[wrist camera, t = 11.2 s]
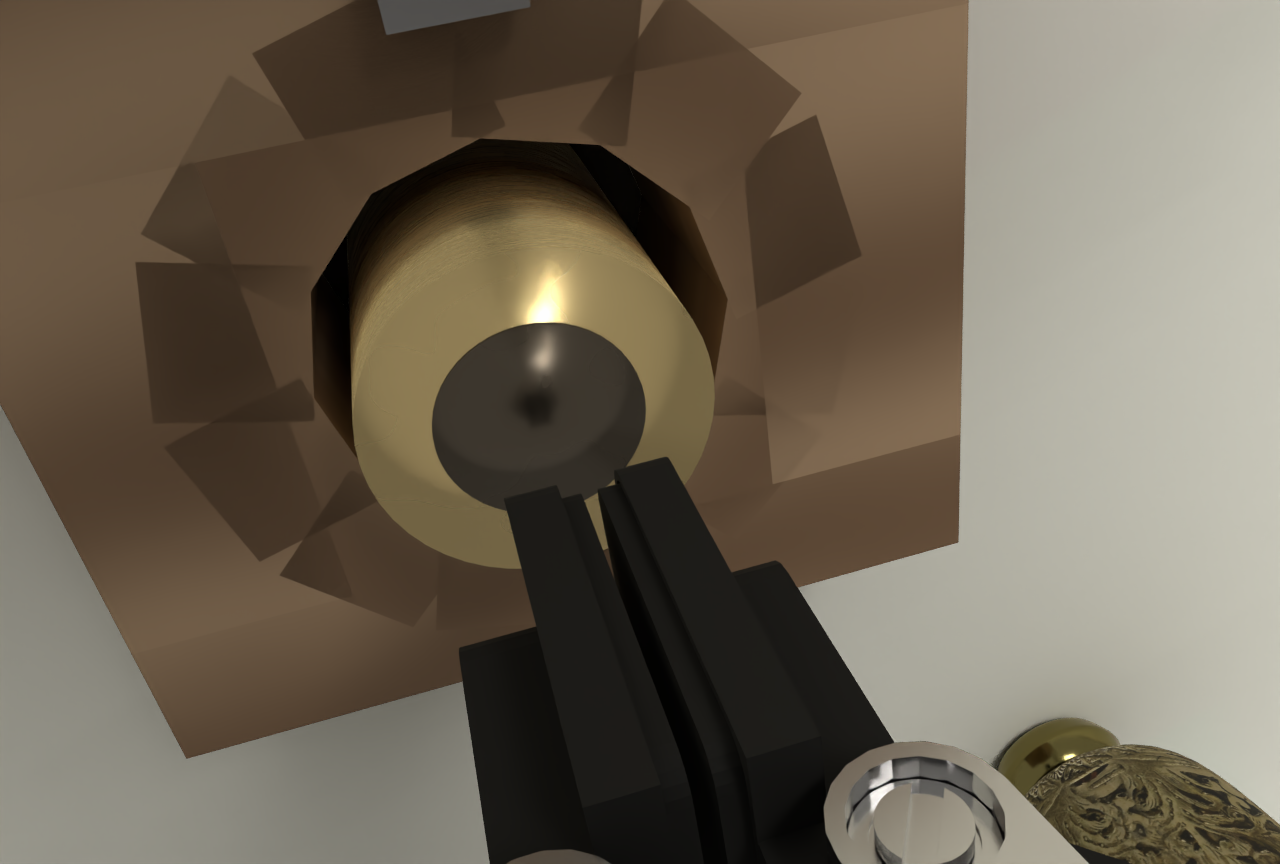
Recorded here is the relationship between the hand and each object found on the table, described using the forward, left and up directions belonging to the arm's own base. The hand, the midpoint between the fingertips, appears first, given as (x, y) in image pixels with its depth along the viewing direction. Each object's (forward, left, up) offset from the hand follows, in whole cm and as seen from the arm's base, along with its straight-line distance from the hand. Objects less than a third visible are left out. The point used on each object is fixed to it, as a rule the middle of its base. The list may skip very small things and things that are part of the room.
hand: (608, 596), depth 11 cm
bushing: (-1, 0, -10) cm, 10 cm away
